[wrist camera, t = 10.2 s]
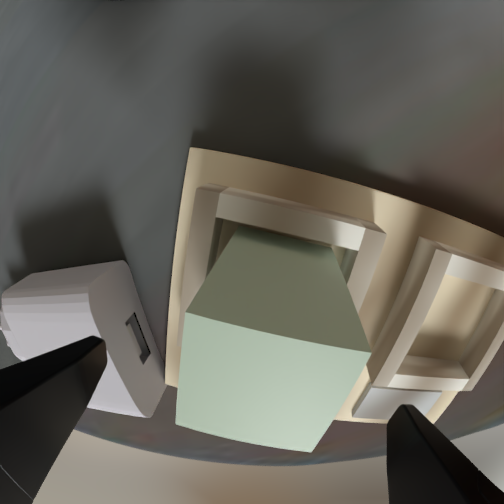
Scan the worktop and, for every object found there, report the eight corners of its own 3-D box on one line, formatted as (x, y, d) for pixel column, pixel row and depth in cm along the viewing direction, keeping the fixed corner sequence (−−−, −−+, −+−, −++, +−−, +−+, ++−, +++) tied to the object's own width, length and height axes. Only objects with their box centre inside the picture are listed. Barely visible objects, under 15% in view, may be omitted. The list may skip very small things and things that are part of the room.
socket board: (524, 246, 13) (549, 261, 10) (431, 416, 18) (440, 441, 16) (195, 147, 14) (174, 147, 11) (168, 376, 19) (154, 403, 16)
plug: (331, 247, 14) (371, 353, 6) (305, 325, 16) (311, 452, 8) (239, 225, 14) (185, 311, 7) (223, 306, 16) (175, 424, 8)
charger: (1, 275, 19) (128, 255, 17) (40, 362, 22) (171, 376, 19) (-35, 298, 15) (82, 289, 12) (13, 391, 17) (148, 425, 15)
